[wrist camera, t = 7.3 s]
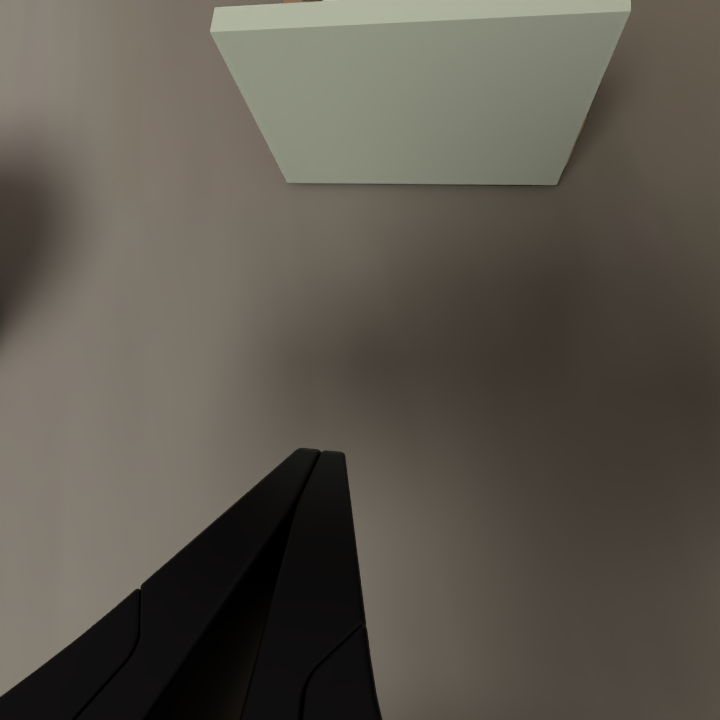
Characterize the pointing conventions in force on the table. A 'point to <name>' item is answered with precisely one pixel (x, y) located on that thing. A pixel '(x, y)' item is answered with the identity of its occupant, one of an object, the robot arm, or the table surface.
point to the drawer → (420, 85)
